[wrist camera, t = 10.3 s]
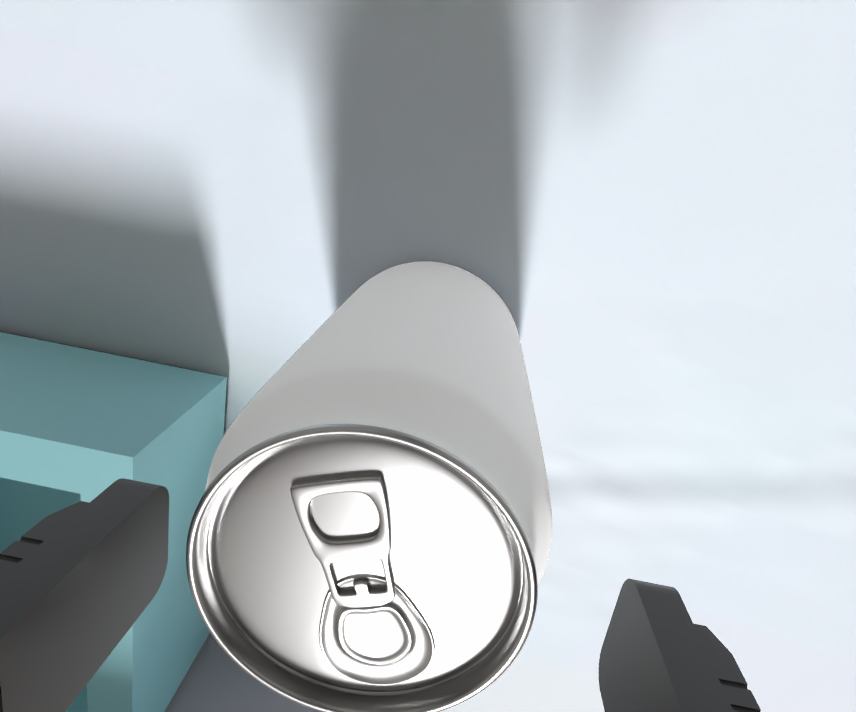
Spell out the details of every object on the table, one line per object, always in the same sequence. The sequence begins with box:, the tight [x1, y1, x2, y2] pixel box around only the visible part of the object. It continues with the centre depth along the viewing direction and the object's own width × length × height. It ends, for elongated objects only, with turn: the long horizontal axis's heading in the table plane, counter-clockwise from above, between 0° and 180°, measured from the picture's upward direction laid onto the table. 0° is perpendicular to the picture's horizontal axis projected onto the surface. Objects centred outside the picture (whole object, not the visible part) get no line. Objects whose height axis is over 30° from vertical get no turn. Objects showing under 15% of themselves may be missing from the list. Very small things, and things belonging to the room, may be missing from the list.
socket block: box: [0, 332, 227, 712], centre depth 20 cm, size 12×12×6 cm
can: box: [186, 261, 552, 712], centre depth 15 cm, size 6×6×12 cm
